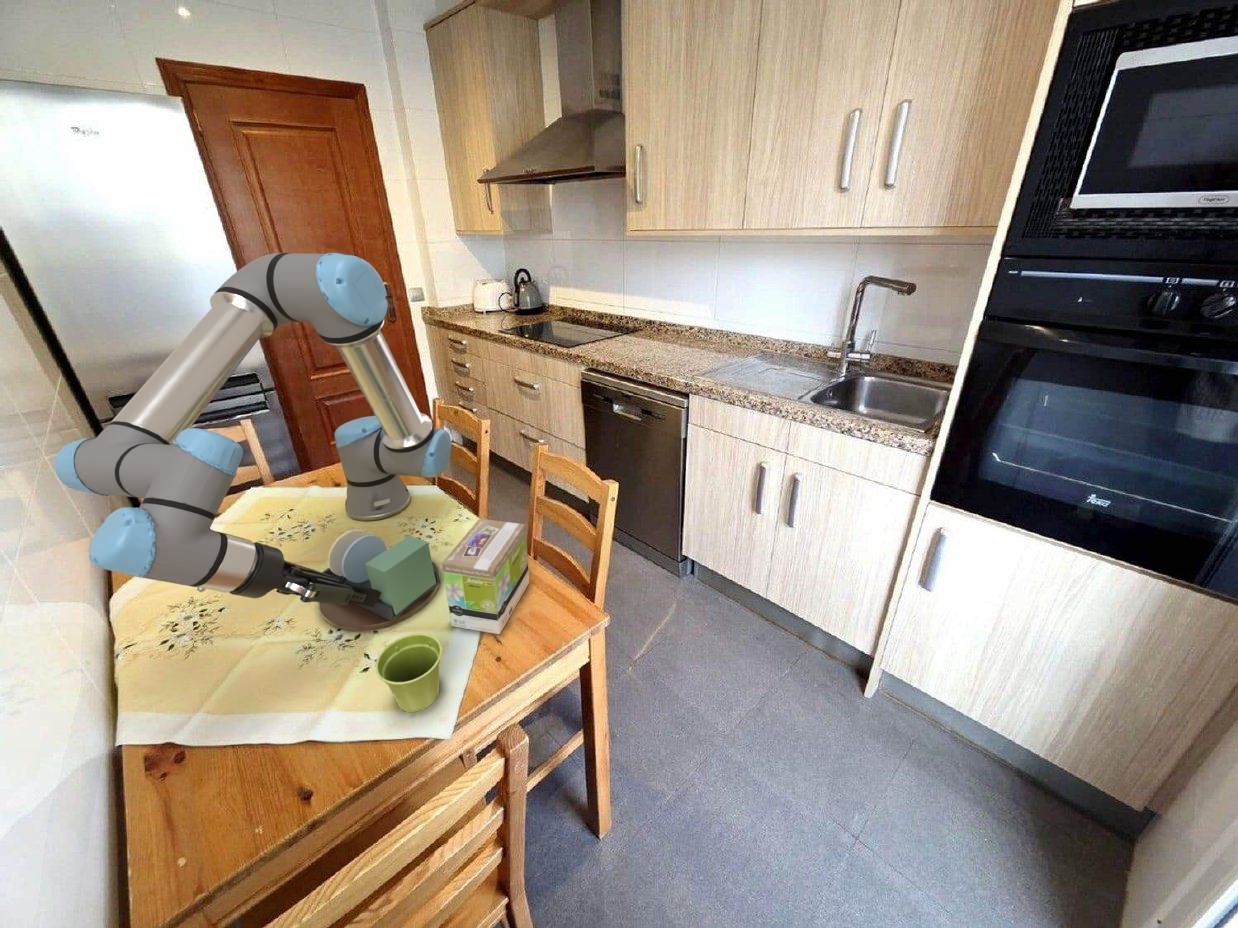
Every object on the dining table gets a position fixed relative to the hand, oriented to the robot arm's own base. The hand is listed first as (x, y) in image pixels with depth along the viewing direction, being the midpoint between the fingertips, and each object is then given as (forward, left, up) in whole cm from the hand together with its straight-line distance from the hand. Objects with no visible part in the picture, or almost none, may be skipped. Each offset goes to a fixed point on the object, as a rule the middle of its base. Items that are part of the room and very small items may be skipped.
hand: (375, 598), depth 90 cm
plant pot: (+11, +17, -6) cm, 21 cm away
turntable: (-7, -6, -6) cm, 12 cm away
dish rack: (-7, -6, -5) cm, 11 cm away
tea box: (-11, +17, -6) cm, 21 cm away
